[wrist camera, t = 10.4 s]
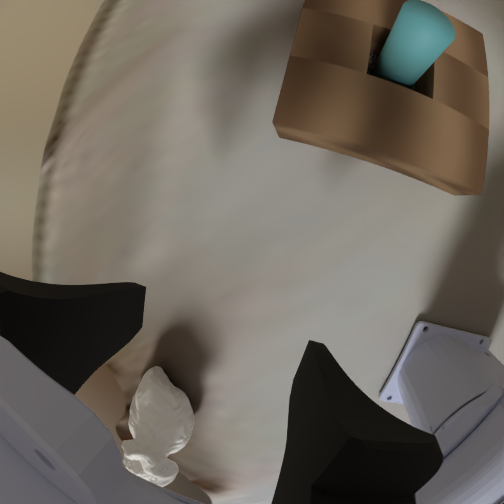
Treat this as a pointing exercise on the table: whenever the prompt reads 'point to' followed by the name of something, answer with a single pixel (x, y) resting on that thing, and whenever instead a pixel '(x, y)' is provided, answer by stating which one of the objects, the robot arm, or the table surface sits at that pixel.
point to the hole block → (386, 97)
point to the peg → (413, 43)
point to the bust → (157, 428)
